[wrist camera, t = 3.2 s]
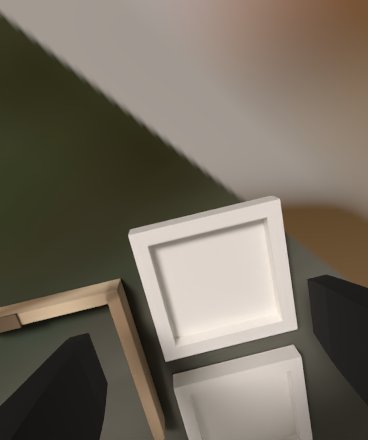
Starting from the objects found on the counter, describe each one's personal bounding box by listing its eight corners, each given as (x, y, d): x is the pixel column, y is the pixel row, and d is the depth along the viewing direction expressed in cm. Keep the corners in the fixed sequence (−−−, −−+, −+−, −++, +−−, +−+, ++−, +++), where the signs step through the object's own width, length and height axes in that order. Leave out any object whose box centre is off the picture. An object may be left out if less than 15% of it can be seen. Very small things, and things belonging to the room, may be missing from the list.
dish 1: (272, 195, 12) (279, 198, 11) (289, 318, 13) (297, 328, 12) (130, 229, 11) (128, 235, 11) (165, 349, 13) (165, 361, 12)
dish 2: (293, 344, 13) (301, 356, 13) (306, 435, 15) (314, 451, 14) (172, 374, 13) (173, 388, 13) (198, 463, 15) (200, 480, 14)
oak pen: (119, 277, 12) (115, 290, 11) (164, 418, 14) (165, 441, 13) (-112, 333, 12) (-139, 352, 11) (-31, 468, 14) (-47, 494, 13)
